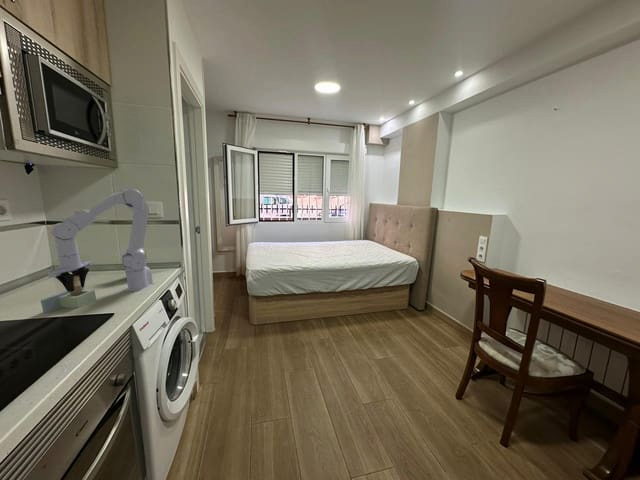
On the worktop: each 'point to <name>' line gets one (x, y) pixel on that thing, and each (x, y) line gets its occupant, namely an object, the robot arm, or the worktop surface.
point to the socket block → (77, 299)
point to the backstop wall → (52, 302)
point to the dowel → (76, 286)
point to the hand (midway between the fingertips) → (76, 289)
